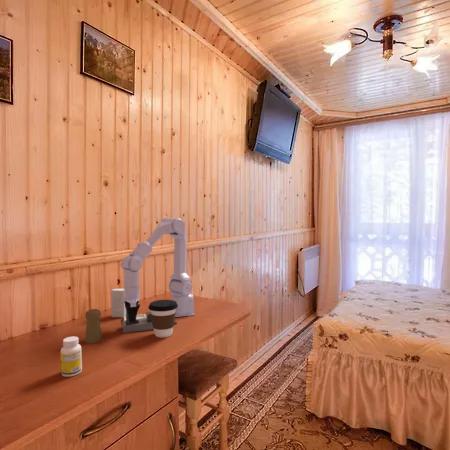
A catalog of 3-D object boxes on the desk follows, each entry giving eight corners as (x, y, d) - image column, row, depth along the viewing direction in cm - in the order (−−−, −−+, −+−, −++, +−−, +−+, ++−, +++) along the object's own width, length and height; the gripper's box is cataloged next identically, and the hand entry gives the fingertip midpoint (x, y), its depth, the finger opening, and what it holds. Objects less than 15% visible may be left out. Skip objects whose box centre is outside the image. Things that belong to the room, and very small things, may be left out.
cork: (106, 338, 119) (105, 308, 119) (94, 344, 113) (93, 313, 113) (92, 336, 121) (92, 306, 121) (80, 342, 115) (80, 311, 115)
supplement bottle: (65, 368, 95) (65, 335, 95) (84, 367, 96) (84, 335, 96) (57, 377, 90) (57, 342, 90) (78, 376, 91) (77, 342, 90)
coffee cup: (183, 332, 125) (183, 301, 124) (165, 342, 115) (165, 308, 115) (161, 327, 130) (161, 297, 129) (142, 336, 120) (142, 304, 120)
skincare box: (128, 314, 147) (127, 288, 147) (124, 317, 143) (123, 290, 142) (115, 314, 148) (114, 288, 147) (111, 317, 143) (110, 290, 143)
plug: (126, 325, 130) (125, 307, 129) (135, 324, 131) (135, 306, 131) (126, 328, 126) (126, 309, 126) (136, 327, 127) (136, 308, 127)
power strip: (175, 320, 138) (175, 307, 138) (179, 326, 132) (178, 312, 131) (122, 327, 131) (122, 313, 131) (123, 332, 124) (123, 318, 124)
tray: (145, 316, 144) (145, 314, 144) (146, 321, 137) (146, 318, 137) (123, 318, 141) (123, 316, 141) (124, 324, 134) (124, 321, 134)
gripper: (120, 283, 134) (120, 316, 134) (121, 291, 120) (122, 327, 120) (138, 282, 136) (138, 314, 136) (141, 289, 122) (141, 325, 123)
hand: (132, 320), depth 129 cm, fingers closed on plug, 4 cm apart
